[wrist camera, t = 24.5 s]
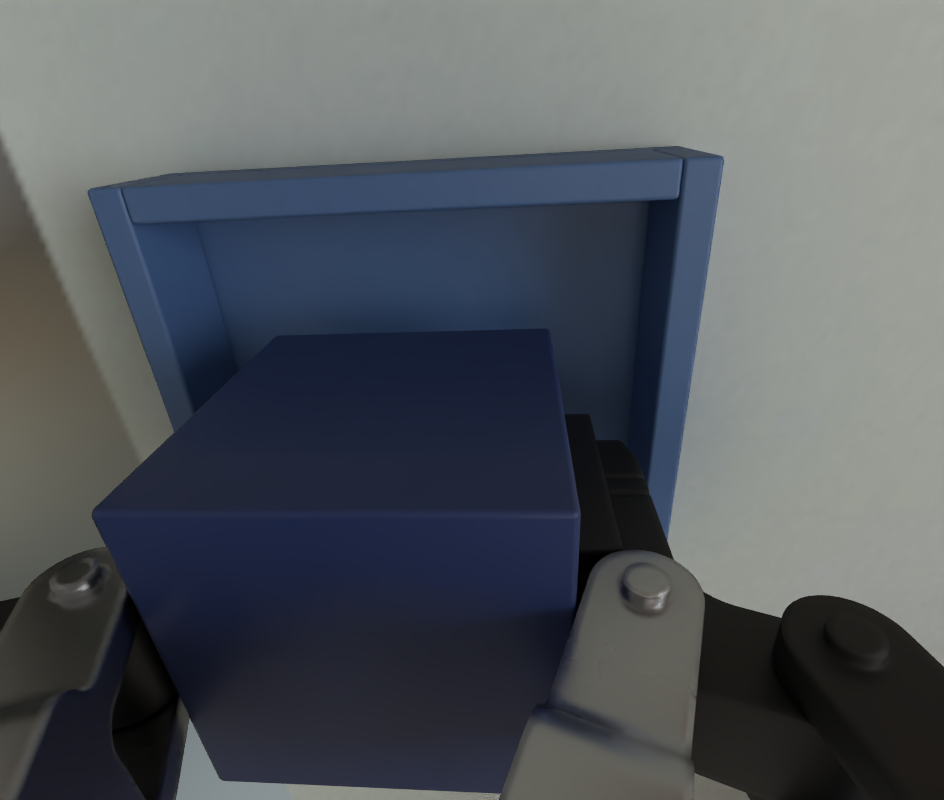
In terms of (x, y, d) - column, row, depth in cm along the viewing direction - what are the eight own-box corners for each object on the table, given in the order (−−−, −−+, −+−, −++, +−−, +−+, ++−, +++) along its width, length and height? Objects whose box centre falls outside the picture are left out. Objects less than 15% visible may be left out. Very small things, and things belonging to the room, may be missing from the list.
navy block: (324, 541, 12) (218, 783, 8) (274, 333, 10) (84, 512, 6) (547, 543, 12) (567, 799, 7) (550, 326, 10) (582, 513, 5)
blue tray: (278, 548, 16) (240, 619, 14) (168, 173, 11) (84, 189, 9) (634, 551, 15) (654, 626, 13) (680, 145, 10) (727, 155, 8)
